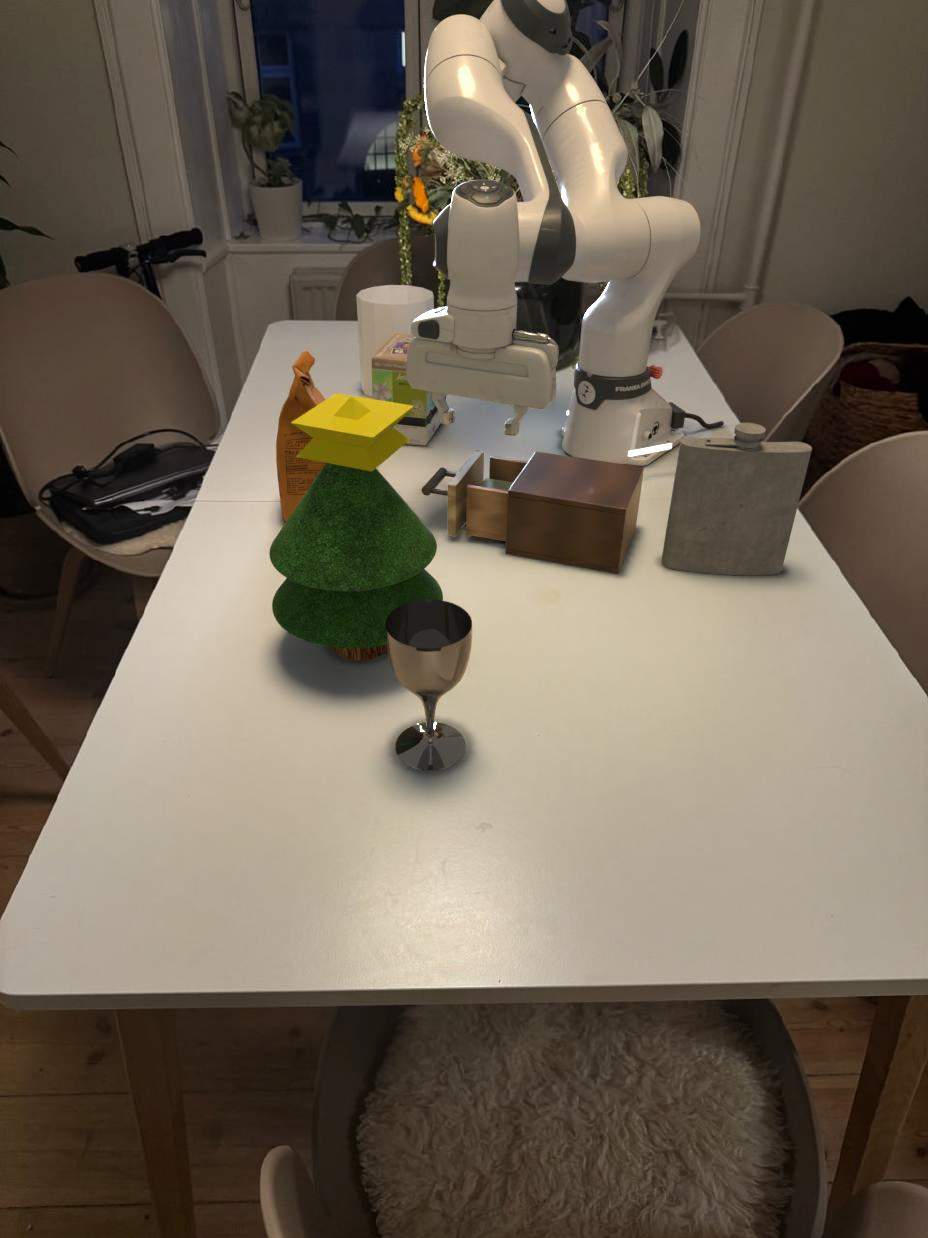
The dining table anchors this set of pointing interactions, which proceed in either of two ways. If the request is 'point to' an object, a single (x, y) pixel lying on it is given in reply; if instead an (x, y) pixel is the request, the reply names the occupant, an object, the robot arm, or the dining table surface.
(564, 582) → the dining table surface
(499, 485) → the block
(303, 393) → the coffee package
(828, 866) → the dining table surface
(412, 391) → the tea box
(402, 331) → the container
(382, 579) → the decorative tree
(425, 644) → the wine glass
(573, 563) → the cabinet
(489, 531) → the drawer
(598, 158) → the robot arm
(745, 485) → the hip flask
